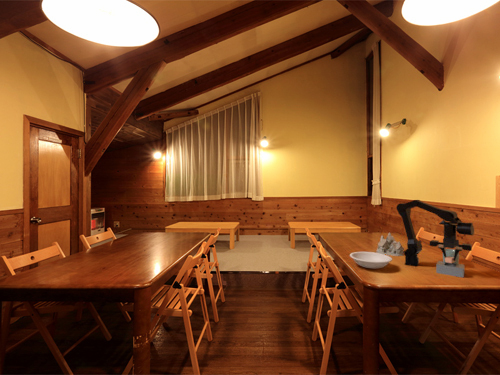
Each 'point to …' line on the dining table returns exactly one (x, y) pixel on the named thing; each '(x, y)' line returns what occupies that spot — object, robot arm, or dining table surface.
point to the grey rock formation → (390, 246)
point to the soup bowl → (370, 259)
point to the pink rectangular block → (449, 259)
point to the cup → (451, 255)
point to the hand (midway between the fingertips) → (450, 260)
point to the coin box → (450, 268)
